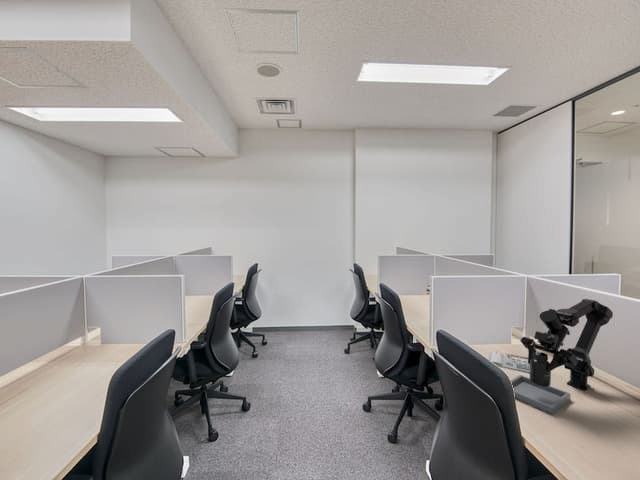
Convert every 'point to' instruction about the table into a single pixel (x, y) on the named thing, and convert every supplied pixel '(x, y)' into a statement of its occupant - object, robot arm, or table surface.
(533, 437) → the table surface
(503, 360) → the office telephone
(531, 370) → the supplement bottle
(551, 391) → the tray
